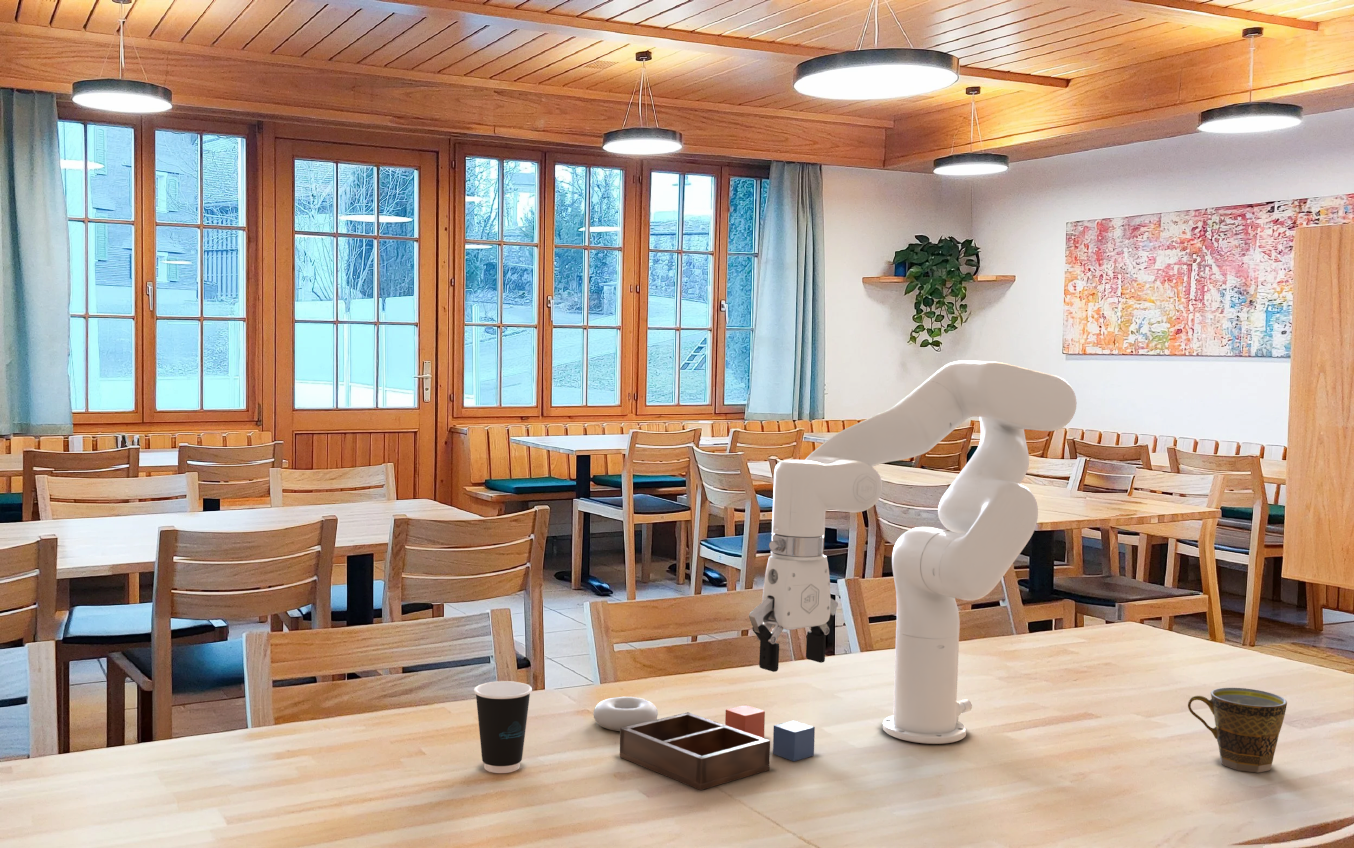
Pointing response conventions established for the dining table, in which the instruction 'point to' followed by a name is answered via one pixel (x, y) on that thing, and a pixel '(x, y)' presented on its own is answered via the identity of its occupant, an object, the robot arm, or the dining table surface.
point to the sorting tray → (695, 750)
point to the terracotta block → (746, 719)
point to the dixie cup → (502, 723)
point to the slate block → (793, 740)
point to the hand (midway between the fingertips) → (792, 665)
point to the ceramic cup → (1245, 726)
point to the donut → (624, 712)
